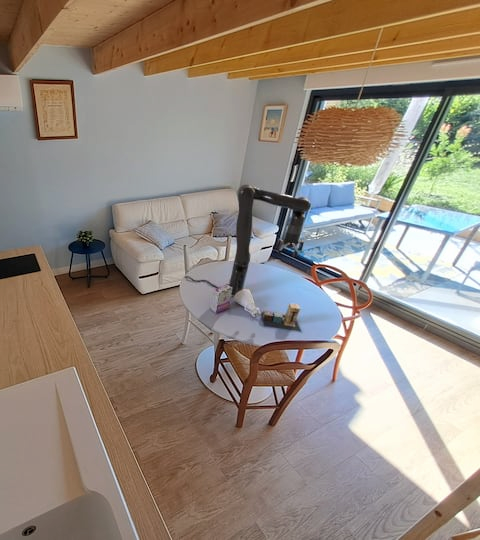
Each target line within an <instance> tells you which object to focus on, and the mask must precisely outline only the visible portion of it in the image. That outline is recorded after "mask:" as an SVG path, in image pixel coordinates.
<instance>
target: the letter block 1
mask: <svg viewBox="0 0 480 540" xmlns="http://www.w3.org/2000/svg"><path fill="white" fill-rule="evenodd" d="M272 314H273V311H271V310H270V311H269V310H263V314H262V316H261V319H262V318H263V320H262V322H263V321H269V322H271V320H272V317H273V315H272Z"/></svg>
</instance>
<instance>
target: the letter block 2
mask: <svg viewBox="0 0 480 540" xmlns="http://www.w3.org/2000/svg"><path fill="white" fill-rule="evenodd" d="M272 315H273V317H272V321H273V322H276V323H281V322H282V319H283V316H282V315H283V314H282V312H278V311H272Z"/></svg>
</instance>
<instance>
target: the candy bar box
mask: <svg viewBox="0 0 480 540" xmlns="http://www.w3.org/2000/svg"><path fill="white" fill-rule="evenodd" d="M218 287H219V288H216V287H215V288H214V291H213V297H212V302H211V308H210V310H211V311H212V312H213V313H215V314H219V313H221V312H224V311H226V310H229V309H230V304H231V299H232V296H231V294H232V289H233V288H232V287H231V286H229V285H226V284H224V285H222V286H218Z"/></svg>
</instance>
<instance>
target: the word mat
mask: <svg viewBox="0 0 480 540" xmlns="http://www.w3.org/2000/svg"><path fill="white" fill-rule="evenodd" d="M260 312H261V313H262V314H263V312H262V311H260ZM262 314H261V315H260V316H261V320H262V323H263V327H266V328H267V327H268V328H273V329H281V330H288V331H292V332H293V331H295V332H302V330H301V327H300V326H299V323H298V321H297V320H296V321H295V324H294V325H291V324H286V323H285V320H284V318H285V315H286V314H282V316H283V319H282V322H281V323H276V322H273V321H272V320H271V322H269V321H263V318H262Z"/></svg>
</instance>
